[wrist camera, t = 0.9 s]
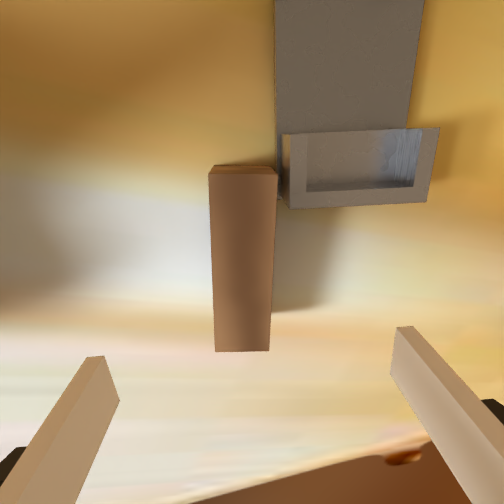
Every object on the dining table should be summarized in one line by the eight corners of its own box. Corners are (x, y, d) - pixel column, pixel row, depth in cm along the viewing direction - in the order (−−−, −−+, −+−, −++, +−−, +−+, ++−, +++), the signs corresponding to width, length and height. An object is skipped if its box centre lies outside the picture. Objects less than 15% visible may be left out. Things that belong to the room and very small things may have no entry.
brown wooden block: (218, 314, 32) (215, 352, 27) (214, 165, 26) (208, 173, 21) (263, 313, 33) (269, 351, 27) (269, 166, 27) (277, 174, 21)
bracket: (275, 197, 27) (285, 213, 22) (272, -138, 19) (286, -250, 13) (390, 191, 28) (429, 205, 22) (437, -142, 19) (517, -252, 14)
